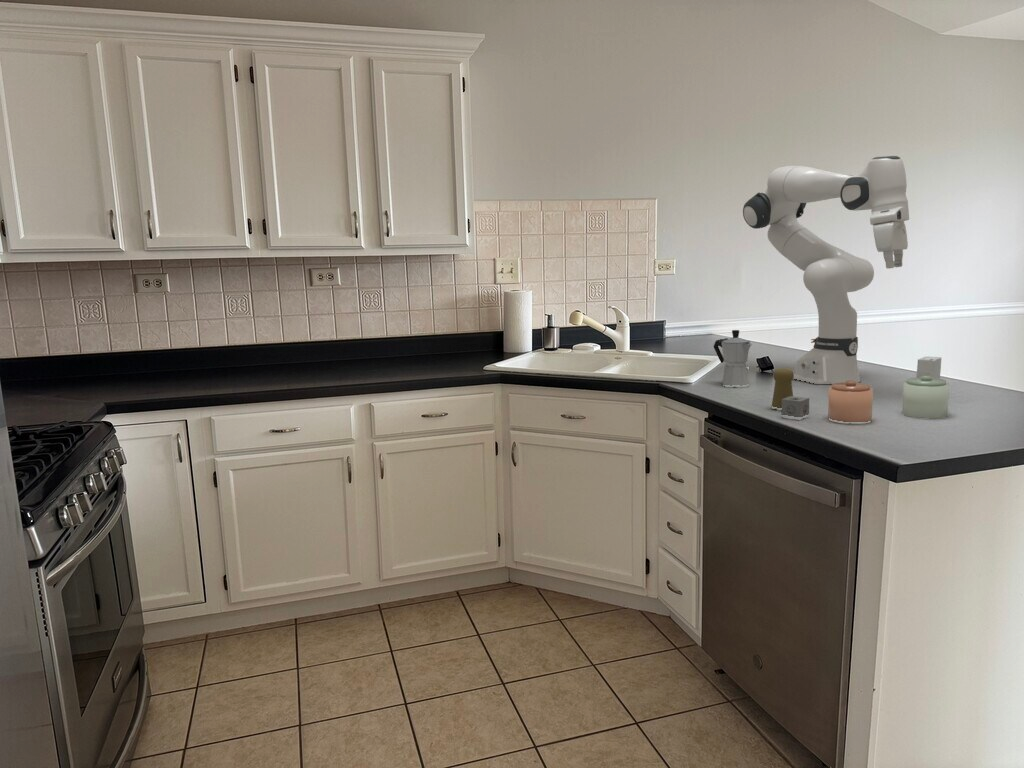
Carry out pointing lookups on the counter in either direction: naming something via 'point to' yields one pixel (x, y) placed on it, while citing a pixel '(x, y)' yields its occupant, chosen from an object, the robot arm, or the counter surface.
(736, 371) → the coffee maker
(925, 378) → the sage canister
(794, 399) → the dice cube
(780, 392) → the cork
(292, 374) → the counter surface
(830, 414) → the terracotta canister
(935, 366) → the skincare box
